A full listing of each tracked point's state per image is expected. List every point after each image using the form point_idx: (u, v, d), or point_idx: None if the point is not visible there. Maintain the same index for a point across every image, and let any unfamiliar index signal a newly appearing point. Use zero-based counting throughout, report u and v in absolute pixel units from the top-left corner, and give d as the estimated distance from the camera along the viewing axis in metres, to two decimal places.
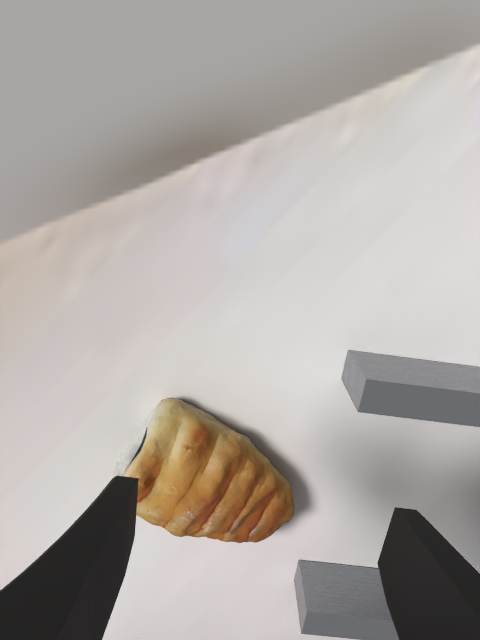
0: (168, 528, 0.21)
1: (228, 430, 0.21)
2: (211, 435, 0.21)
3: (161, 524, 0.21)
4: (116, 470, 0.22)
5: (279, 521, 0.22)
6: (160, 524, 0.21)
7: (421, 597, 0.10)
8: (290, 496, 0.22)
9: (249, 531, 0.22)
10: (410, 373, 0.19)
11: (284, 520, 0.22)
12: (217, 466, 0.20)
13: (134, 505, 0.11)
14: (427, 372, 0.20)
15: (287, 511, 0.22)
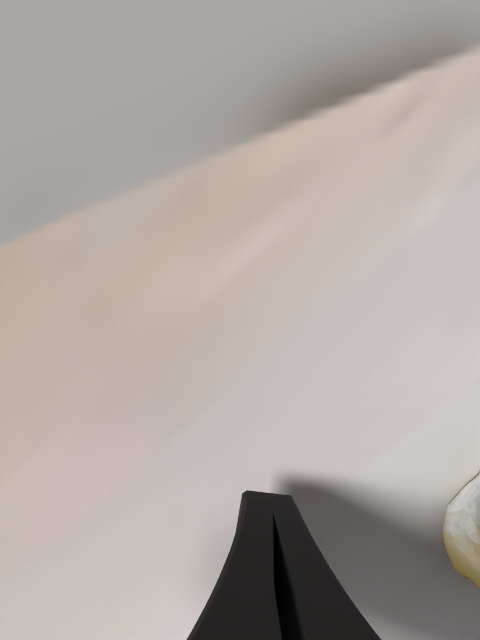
0: None
1: None
2: None
3: None
4: (454, 526, 0.13)
5: None
6: None
7: None
8: None
9: None
10: None
11: None
12: None
13: None
14: None
15: None
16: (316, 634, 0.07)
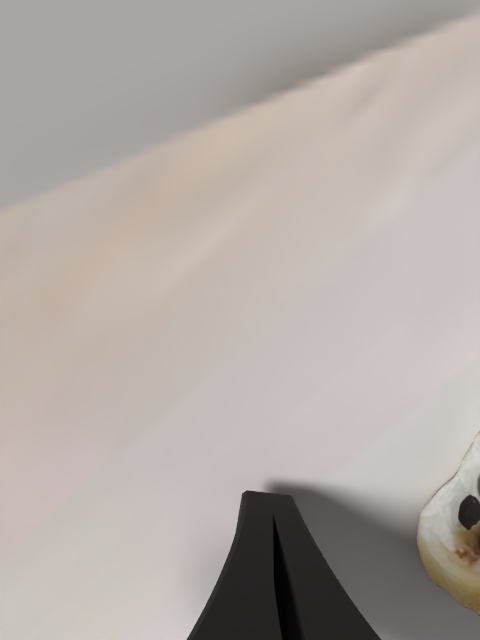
0: None
1: None
2: None
3: None
4: (428, 532, 0.12)
5: None
6: None
7: None
8: None
9: None
10: None
11: None
12: None
13: None
14: None
15: None
16: (316, 634, 0.07)
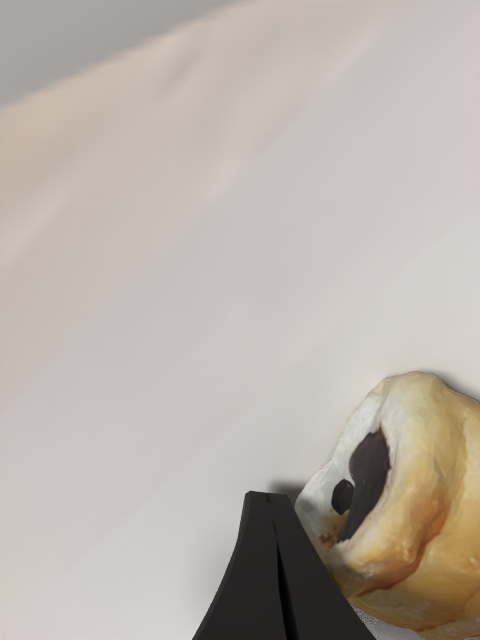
0: (432, 635, 0.10)
1: None
2: None
3: (415, 626, 0.10)
4: (300, 517, 0.12)
5: None
6: (412, 626, 0.10)
7: None
8: None
9: None
10: None
11: None
12: None
13: None
14: None
15: None
16: (310, 633, 0.07)
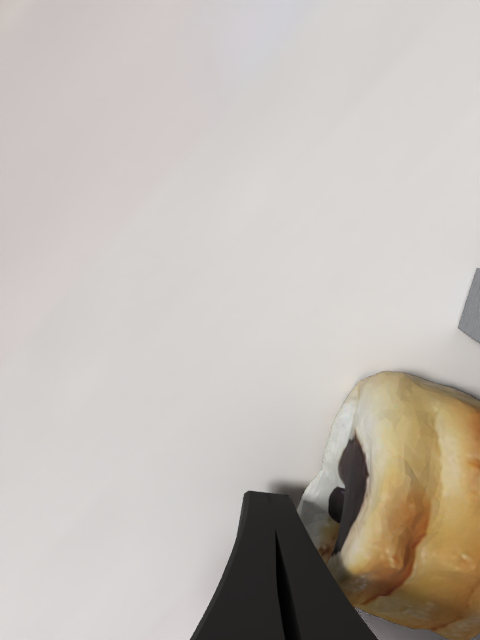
0: (446, 633, 0.10)
1: None
2: None
3: (428, 626, 0.10)
4: None
5: None
6: (425, 626, 0.10)
7: None
8: None
9: None
10: None
11: None
12: None
13: None
14: None
15: None
16: (313, 634, 0.07)
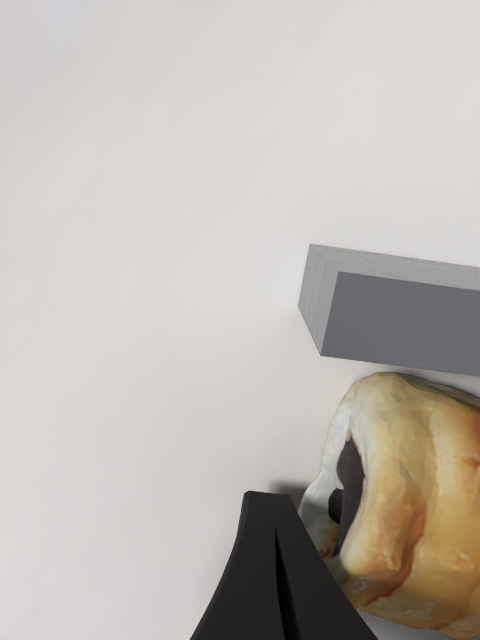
0: (449, 632, 0.10)
1: None
2: None
3: (430, 626, 0.10)
4: None
5: None
6: (428, 626, 0.10)
7: None
8: None
9: None
10: (441, 274, 0.09)
11: None
12: None
13: None
14: (477, 277, 0.09)
15: None
16: (313, 634, 0.07)
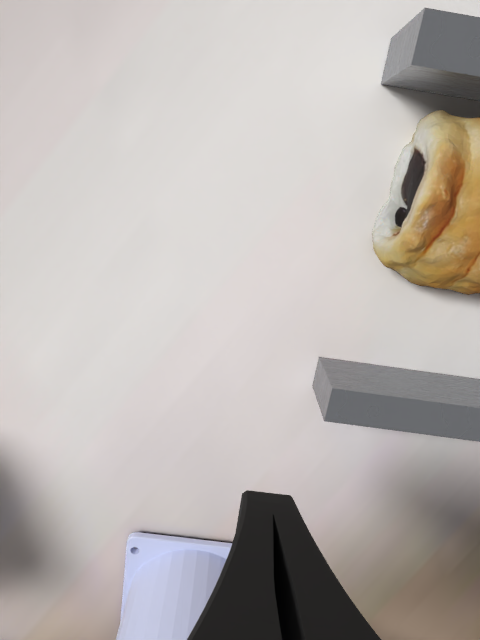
0: (476, 269, 0.17)
1: None
2: None
3: (464, 268, 0.17)
4: (377, 236, 0.18)
5: None
6: (462, 269, 0.17)
7: None
8: None
9: None
10: None
11: None
12: None
13: None
14: None
15: None
16: (316, 634, 0.07)
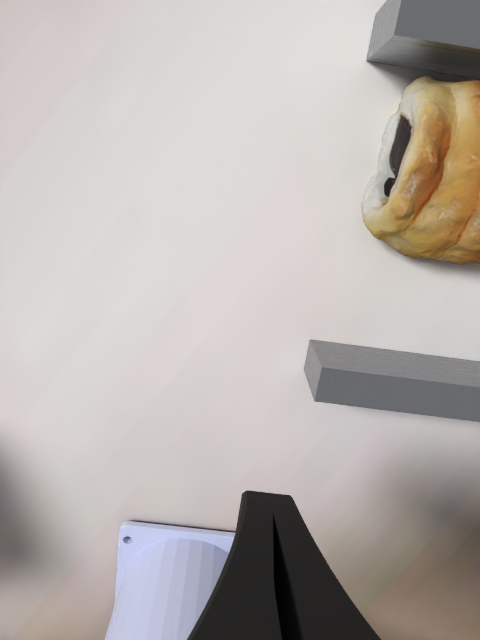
0: (467, 235, 0.16)
1: None
2: None
3: (455, 235, 0.16)
4: (366, 207, 0.18)
5: None
6: (453, 236, 0.16)
7: None
8: None
9: None
10: None
11: None
12: None
13: None
14: None
15: None
16: (316, 634, 0.07)
